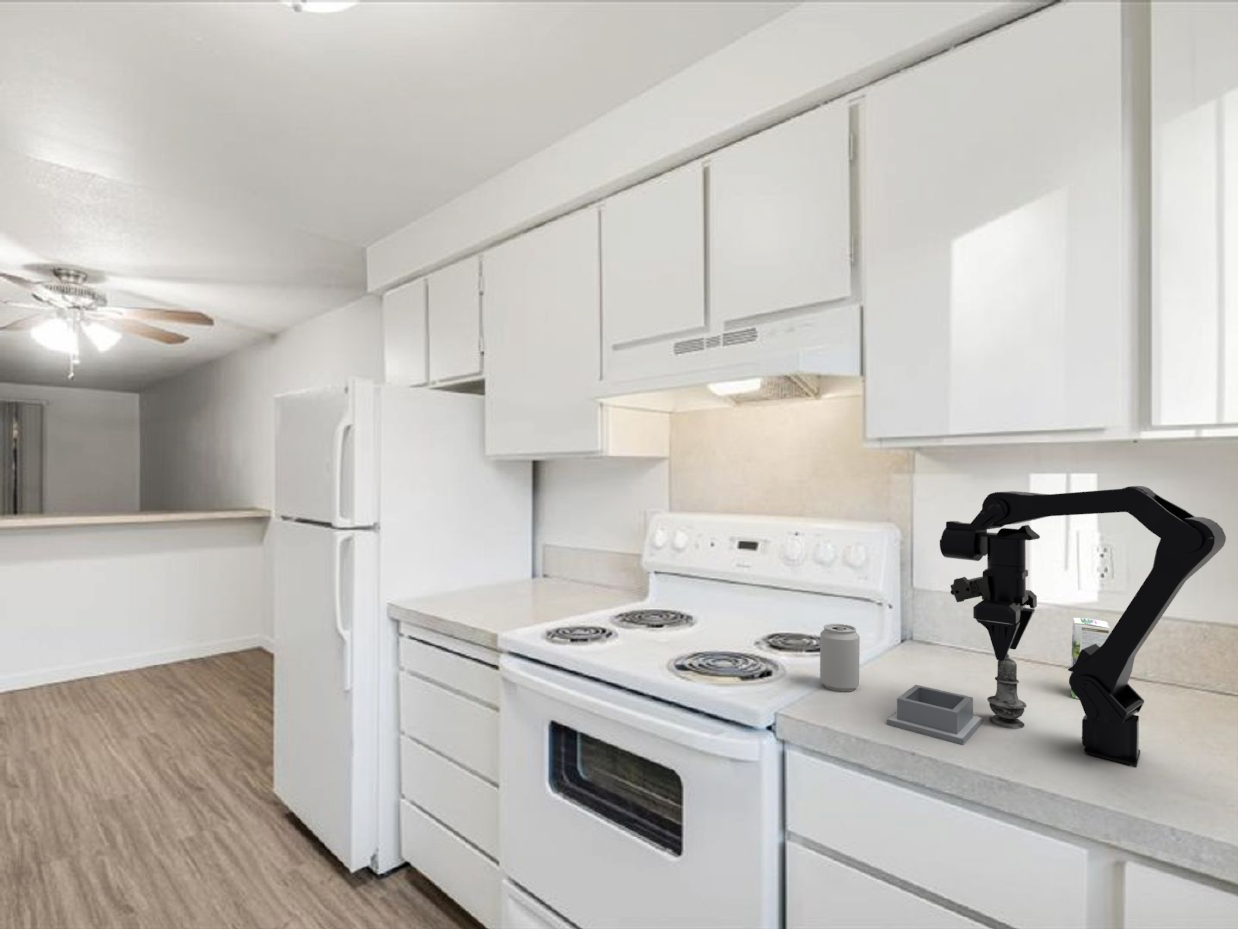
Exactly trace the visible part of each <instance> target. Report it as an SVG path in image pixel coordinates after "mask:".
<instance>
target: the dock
mask: <svg viewBox="0 0 1238 929" xmlns="http://www.w3.org/2000/svg"><path fill="white" fill-rule="evenodd" d="M983 720H984V719H983V717H980V716H977V715H974V697H972V696H968V695H964V694H959V693H954V692H950V691H946V690H940V689H937V688H933V687H928V686H924V685H923V686H922V685H920V684H919V685H918V684H915V685H913V686H912V687H910V688H909V689H908V690H907V691H905V692H904V693H903V694H901V695H900V696H898V697H897V698H896V712H894V713H892V715H891V716H889V717H888V718H887V719H886V725H888V726H891V727H896V728H900V729H903V730H907V731H911V732H915V733H918V734H922V735H926V736H930V737H933V738H936V739H940V740H945V741H949V742H952V743H955V744H960V745H964V744H965V743H966V742H967V741H968V740H969V739H970V738H971V736H973V734H974V733H975V732H976V731H977V730H978V729H979V728H980V727H981V726H982V724H983V722H984V721H983Z"/></svg>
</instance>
